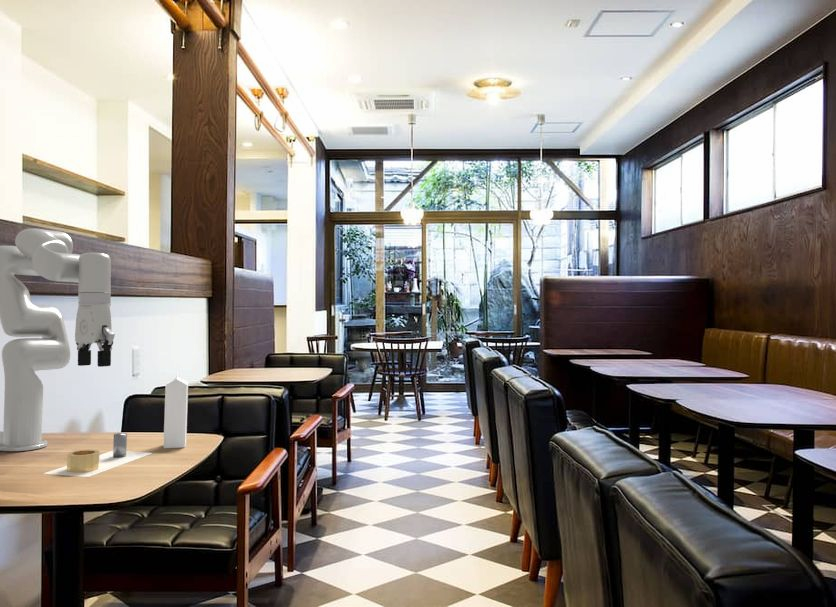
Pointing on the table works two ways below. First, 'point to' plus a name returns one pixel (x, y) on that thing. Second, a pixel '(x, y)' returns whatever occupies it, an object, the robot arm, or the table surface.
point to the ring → (82, 461)
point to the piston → (119, 445)
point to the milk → (175, 413)
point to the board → (102, 464)
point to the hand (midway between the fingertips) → (94, 365)
